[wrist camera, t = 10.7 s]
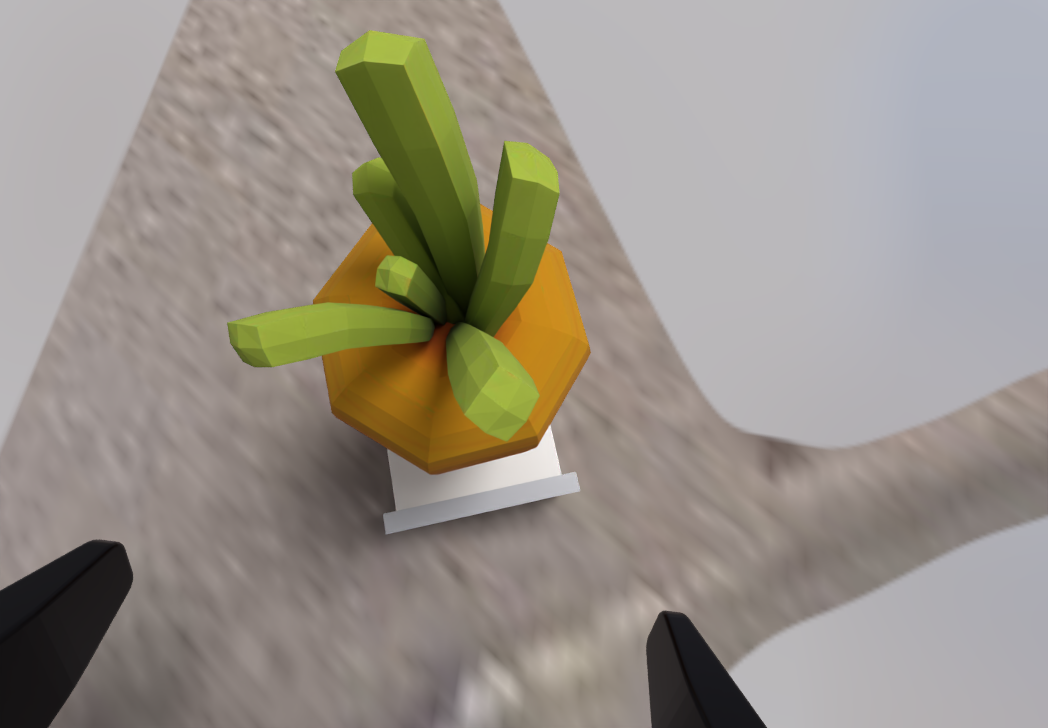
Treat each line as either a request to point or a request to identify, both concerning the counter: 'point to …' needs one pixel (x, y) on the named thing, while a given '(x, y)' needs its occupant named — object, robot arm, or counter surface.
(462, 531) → the counter surface
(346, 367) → the carrot
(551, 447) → the white railed tray
